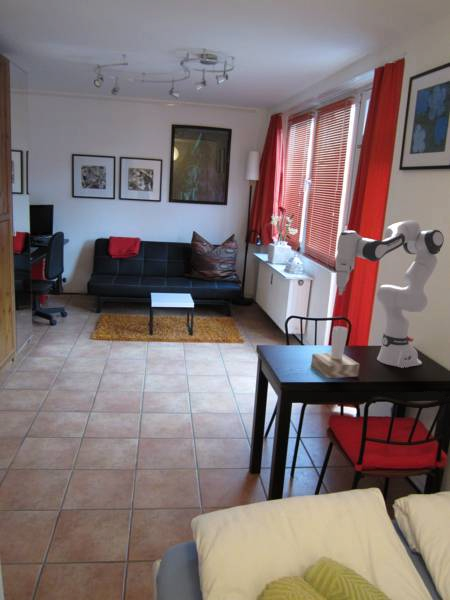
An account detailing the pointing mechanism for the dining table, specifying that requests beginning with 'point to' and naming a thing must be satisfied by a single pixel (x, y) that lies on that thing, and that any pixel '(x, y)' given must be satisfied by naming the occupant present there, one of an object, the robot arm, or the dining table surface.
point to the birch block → (334, 366)
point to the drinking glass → (338, 342)
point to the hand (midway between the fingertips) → (341, 292)
